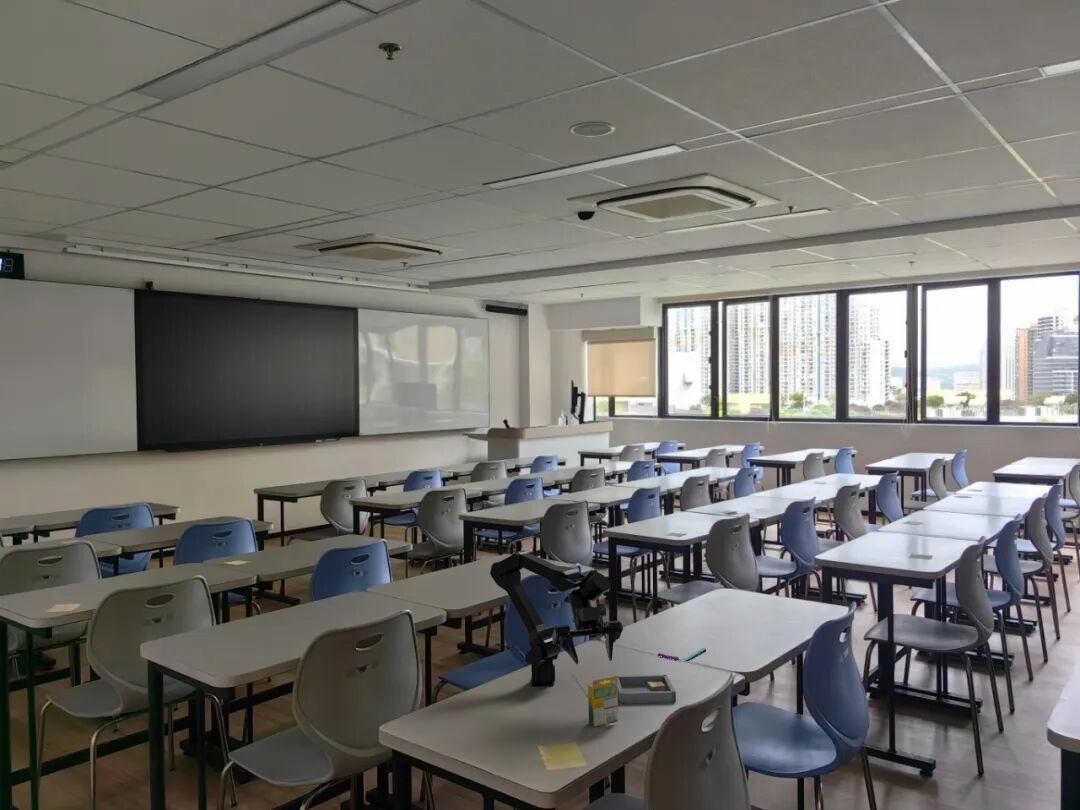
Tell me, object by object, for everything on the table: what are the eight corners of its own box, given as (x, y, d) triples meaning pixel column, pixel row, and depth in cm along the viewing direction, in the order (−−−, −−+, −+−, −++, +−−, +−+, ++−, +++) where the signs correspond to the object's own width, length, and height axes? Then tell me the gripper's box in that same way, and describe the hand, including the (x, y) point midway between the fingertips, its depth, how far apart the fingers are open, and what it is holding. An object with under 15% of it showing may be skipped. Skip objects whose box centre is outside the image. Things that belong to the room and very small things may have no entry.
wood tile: (652, 691, 221) (652, 686, 221) (647, 686, 225) (647, 682, 225) (665, 689, 222) (665, 685, 222) (660, 685, 226) (660, 680, 226)
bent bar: (678, 642, 264) (705, 647, 258) (678, 647, 264) (706, 653, 258) (632, 667, 242) (660, 673, 235) (632, 672, 242) (661, 679, 235)
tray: (620, 705, 213) (619, 693, 213) (614, 686, 227) (614, 675, 227) (675, 703, 213) (675, 692, 213) (666, 685, 227) (666, 674, 227)
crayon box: (612, 717, 204) (612, 672, 204) (618, 721, 202) (618, 676, 202) (588, 722, 201) (587, 677, 201) (593, 727, 199) (592, 680, 199)
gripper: (553, 596, 212) (565, 649, 201) (620, 591, 216) (634, 643, 205) (547, 618, 220) (558, 670, 209) (611, 612, 224) (625, 664, 213)
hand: (594, 661), depth 209 cm, fingers open, 9 cm apart
